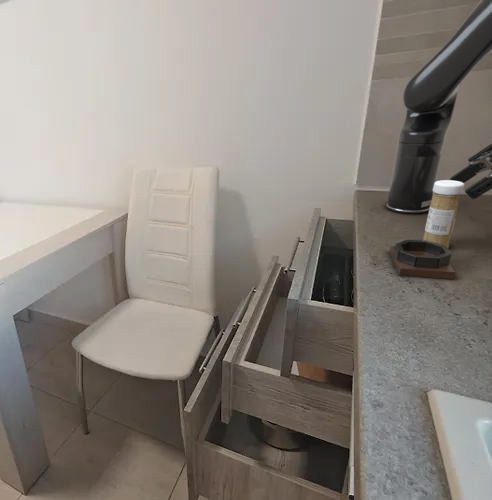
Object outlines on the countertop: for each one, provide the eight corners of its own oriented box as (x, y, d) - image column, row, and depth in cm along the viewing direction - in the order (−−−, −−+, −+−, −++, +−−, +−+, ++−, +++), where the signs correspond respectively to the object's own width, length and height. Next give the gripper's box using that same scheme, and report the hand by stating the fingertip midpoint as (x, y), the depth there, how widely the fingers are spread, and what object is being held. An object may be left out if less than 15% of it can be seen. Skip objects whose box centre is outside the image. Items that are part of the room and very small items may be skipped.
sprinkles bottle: (452, 245, 75) (469, 181, 70) (442, 252, 73) (459, 186, 68) (426, 239, 79) (440, 178, 74) (416, 246, 77) (430, 183, 71)
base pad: (389, 252, 76) (392, 236, 74) (437, 255, 73) (440, 239, 71) (399, 275, 67) (402, 258, 66) (453, 279, 64) (458, 261, 63)
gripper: (606, 145, 56) (489, 214, 65) (554, 131, 68) (461, 191, 77) (571, 111, 56) (458, 185, 65) (525, 103, 68) (435, 167, 77)
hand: (460, 188), depth 71 cm, fingers open, 8 cm apart
